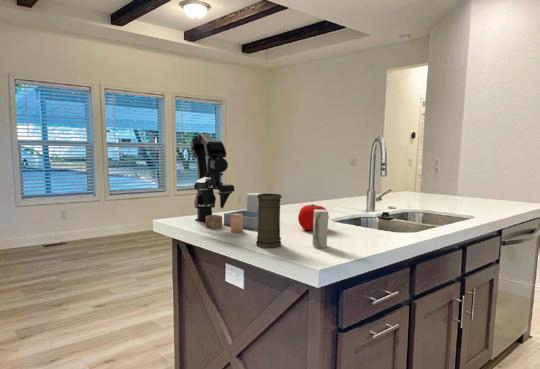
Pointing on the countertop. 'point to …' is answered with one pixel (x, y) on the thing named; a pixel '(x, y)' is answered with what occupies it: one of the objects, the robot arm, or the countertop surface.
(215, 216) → the cube
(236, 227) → the cylinder
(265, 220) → the container
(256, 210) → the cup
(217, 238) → the countertop surface
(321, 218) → the box
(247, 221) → the box
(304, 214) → the tomato
